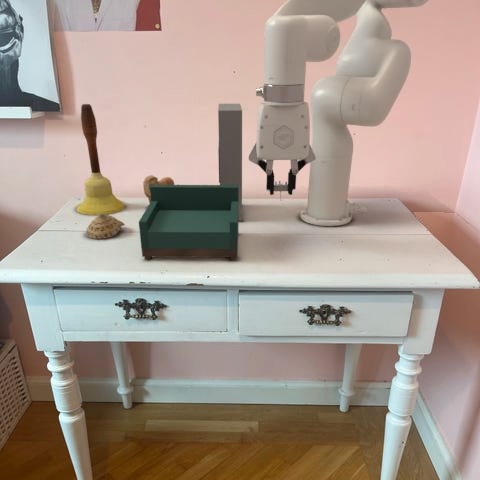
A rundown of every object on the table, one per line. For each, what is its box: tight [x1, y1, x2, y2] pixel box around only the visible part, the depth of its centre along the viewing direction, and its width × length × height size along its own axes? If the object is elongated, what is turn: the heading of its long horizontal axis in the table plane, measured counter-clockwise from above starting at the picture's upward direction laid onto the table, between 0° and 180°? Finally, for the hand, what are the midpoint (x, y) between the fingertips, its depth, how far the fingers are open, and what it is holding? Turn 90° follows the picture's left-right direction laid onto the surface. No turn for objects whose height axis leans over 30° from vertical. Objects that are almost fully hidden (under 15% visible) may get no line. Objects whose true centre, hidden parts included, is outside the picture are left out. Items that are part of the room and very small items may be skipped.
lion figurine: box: [142, 175, 175, 204], centre depth 126 cm, size 15×5×9 cm, turn 162°
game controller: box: [265, 180, 294, 200], centre depth 98 cm, size 6×12×3 cm, turn 15°
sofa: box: [138, 184, 240, 261], centre depth 100 cm, size 19×16×11 cm
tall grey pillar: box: [217, 103, 243, 222], centre depth 116 cm, size 14×6×25 cm, turn 2°
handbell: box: [76, 103, 126, 216], centre depth 120 cm, size 12×12×25 cm
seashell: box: [85, 214, 126, 240], centre depth 109 cm, size 8×6×8 cm
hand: (280, 192), depth 98 cm, fingers closed on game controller, 3 cm apart
